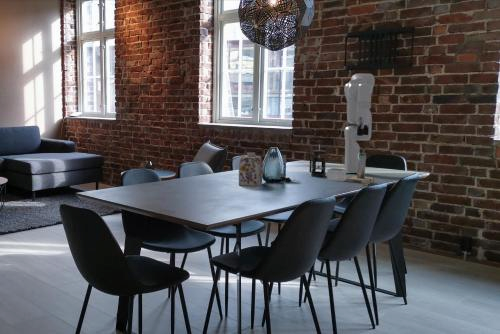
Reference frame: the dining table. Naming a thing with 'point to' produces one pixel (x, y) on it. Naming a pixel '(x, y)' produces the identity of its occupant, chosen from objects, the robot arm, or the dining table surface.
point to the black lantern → (313, 164)
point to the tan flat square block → (360, 180)
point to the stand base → (336, 174)
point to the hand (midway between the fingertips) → (362, 135)
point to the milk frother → (285, 167)
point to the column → (361, 165)
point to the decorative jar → (250, 170)
